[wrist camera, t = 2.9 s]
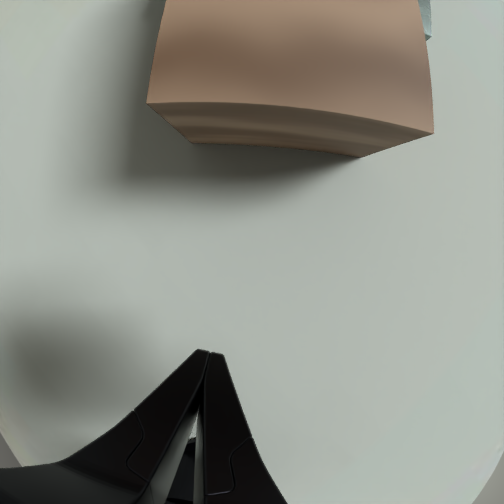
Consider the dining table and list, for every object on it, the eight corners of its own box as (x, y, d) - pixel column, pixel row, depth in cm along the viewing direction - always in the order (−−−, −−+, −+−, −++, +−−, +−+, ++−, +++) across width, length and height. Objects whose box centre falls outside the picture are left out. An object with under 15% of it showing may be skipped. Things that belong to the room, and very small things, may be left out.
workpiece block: (360, 157, 19) (433, 133, 10) (192, 143, 19) (146, 103, 10) (354, -20, 16) (388, -87, 7) (217, -34, 16) (204, -110, 7)
